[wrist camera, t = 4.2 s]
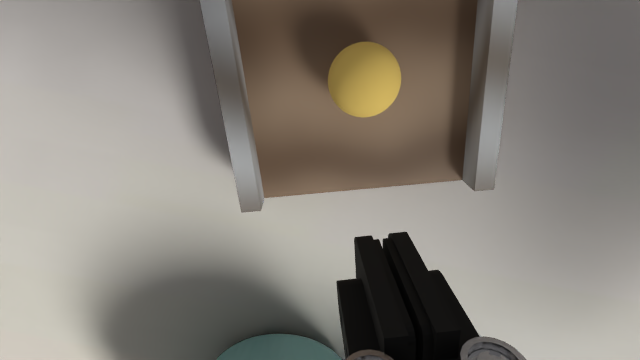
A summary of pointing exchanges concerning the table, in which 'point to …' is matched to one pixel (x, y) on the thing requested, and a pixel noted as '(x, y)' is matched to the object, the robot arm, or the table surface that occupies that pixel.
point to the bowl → (279, 349)
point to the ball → (364, 79)
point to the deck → (346, 130)
